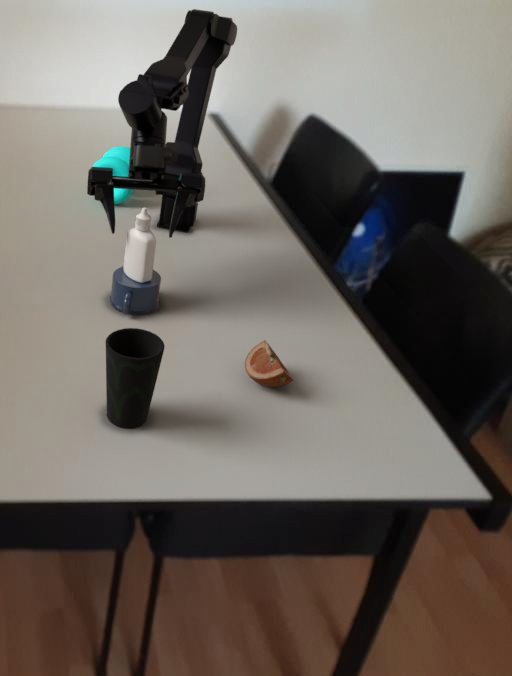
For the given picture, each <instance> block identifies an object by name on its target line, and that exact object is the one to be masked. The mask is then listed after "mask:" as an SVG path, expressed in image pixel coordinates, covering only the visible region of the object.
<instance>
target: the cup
mask: <svg viewBox="0 0 512 676" xmlns="http://www.w3.org/2000/svg"><path fill="white" fill-rule="evenodd" d="M164 352H165V342H164V341H163V339H162V338H161V337H160V336H159V335H158V334H156V333H154V332H152V331H149V330H146V329H143V328H137V327H135V328H134V327H126V328H125V327H124V328H121V329H117V330H114V331H113V332H112V331H111V333H109V335H107V337H106V339H105V387H106V388H105V389H106V393H105V394H106V418H107V420H108V421H109V423H111V425H114V426H115V427H118V428H120V429H126V430H127V429H129V430H132V429H138V428H140V427H143V426H144V425H145V424H146V422H147V421H148V418H149V417H148V416H149V413H150V408H151V404H152V401H153V397H154V393H155V389H156V384H157V380H158V376H159V371H160V367H161V364H162V359H163V357H164Z"/></svg>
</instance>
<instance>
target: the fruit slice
mask: <svg viewBox="0 0 512 676" xmlns="http://www.w3.org/2000/svg"><path fill="white" fill-rule="evenodd" d="M244 369H245V372H246V374H247V376H249V378H250V379H252V380H253V381H254V382H255V383H258V384H260V385H262V386H266V387H281V386H286V385H288V384H290V383H292V382H293V381H294V380H293V378H292V376H291V374H290V372H289V371H288V369H287V368H286V366H285V365H284V364H283V362H282V361H281V359H280V358H279V356H278V355H277V353H276V352H275V351H274V350H273V348H272V347H271V346H270V343H268V342H267V341H266V340H265V339H263V340H262V341H261V342H259V343H258V344H257V345H255V346H254V347H252V349H251V350H250V351H249V352H248V354H247V355H246V357H245V362H244Z"/></svg>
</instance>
